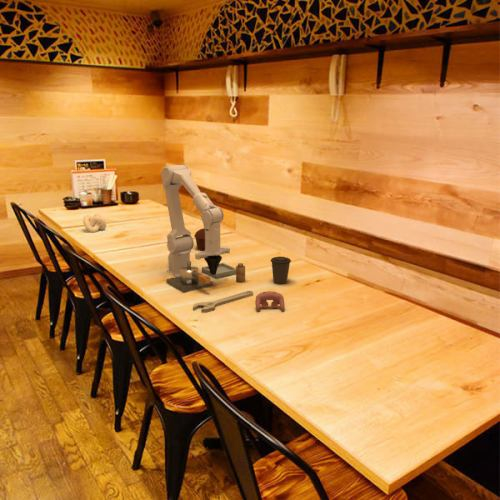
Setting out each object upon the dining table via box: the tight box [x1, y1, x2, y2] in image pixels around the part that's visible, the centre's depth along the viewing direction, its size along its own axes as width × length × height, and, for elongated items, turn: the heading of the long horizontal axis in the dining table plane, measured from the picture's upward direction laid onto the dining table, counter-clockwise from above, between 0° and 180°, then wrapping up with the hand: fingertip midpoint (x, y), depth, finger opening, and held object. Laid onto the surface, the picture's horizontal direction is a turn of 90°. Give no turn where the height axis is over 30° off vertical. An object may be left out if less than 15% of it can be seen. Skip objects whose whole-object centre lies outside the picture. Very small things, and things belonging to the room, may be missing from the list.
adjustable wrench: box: [192, 290, 254, 314], centre depth 165 cm, size 25×6×2 cm, turn 126°
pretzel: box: [82, 213, 107, 233], centre depth 260 cm, size 11×12×9 cm
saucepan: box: [180, 260, 211, 284], centre depth 177 cm, size 16×7×7 cm, turn 38°
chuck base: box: [166, 276, 214, 293], centre depth 182 cm, size 13×13×2 cm
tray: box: [201, 262, 236, 280], centre depth 195 cm, size 11×11×2 cm
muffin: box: [193, 227, 205, 252], centre depth 228 cm, size 12×11×10 cm
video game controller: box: [254, 290, 285, 312], centre depth 160 cm, size 10×5×7 cm, turn 92°
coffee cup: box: [270, 255, 292, 285], centre depth 185 cm, size 8×8×10 cm
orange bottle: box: [235, 262, 246, 284], centre depth 185 cm, size 4×4×7 cm
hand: (213, 274), depth 180 cm, fingers closed
